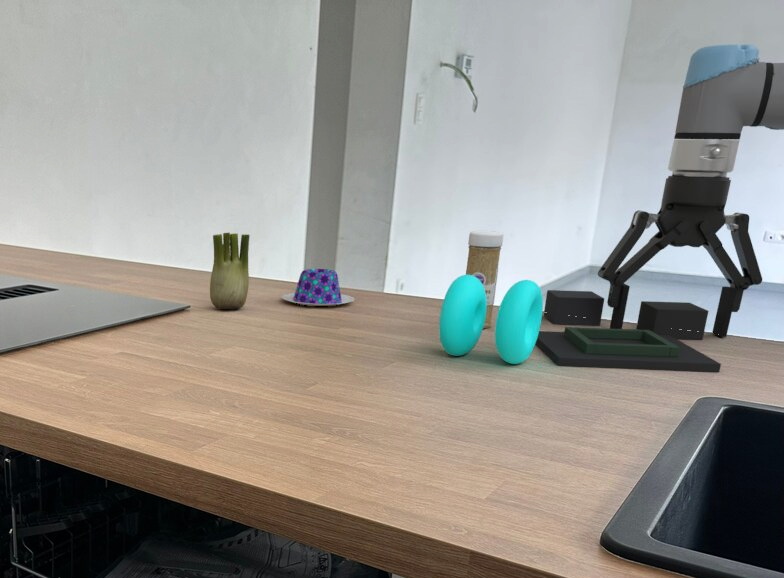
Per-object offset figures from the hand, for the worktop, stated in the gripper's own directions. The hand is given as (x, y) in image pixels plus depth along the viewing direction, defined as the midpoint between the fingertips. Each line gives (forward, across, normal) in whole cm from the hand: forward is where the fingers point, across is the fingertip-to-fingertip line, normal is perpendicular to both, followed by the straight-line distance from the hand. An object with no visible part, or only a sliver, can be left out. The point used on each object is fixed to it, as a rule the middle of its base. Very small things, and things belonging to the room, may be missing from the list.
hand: (666, 333), depth 121 cm
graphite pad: (0, -11, +8) cm, 13 cm away
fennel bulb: (+1, -63, +8) cm, 63 cm away
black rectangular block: (0, 0, 0) cm, 0 cm away
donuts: (0, -28, -20) cm, 34 cm away
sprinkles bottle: (0, -26, +1) cm, 26 cm away
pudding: (+1, -49, +17) cm, 52 cm away
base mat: (0, -11, -14) cm, 18 cm away
